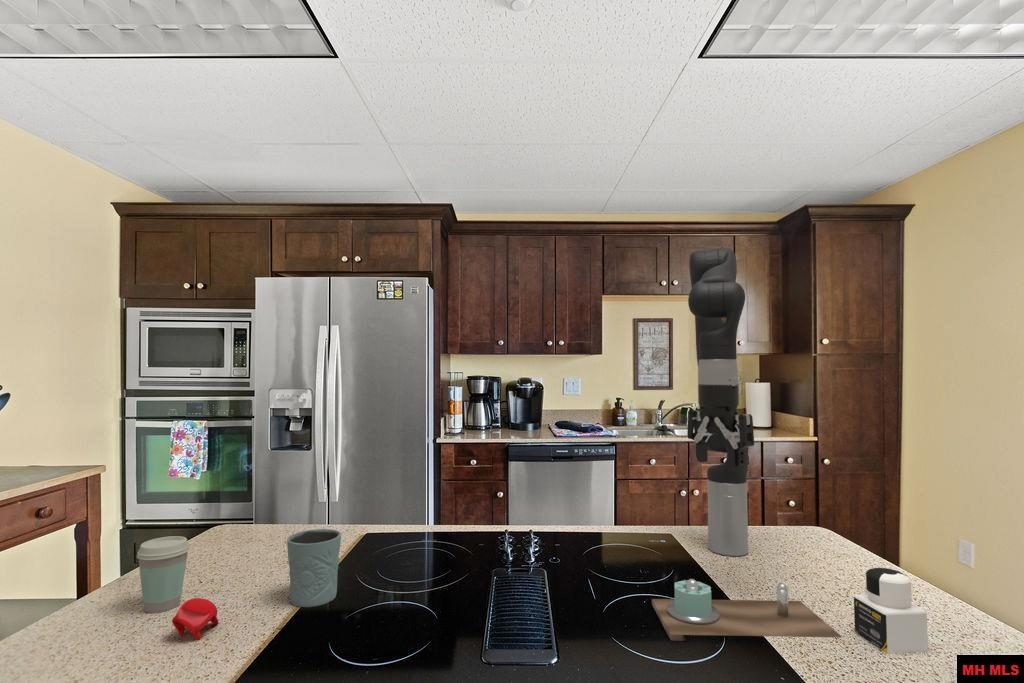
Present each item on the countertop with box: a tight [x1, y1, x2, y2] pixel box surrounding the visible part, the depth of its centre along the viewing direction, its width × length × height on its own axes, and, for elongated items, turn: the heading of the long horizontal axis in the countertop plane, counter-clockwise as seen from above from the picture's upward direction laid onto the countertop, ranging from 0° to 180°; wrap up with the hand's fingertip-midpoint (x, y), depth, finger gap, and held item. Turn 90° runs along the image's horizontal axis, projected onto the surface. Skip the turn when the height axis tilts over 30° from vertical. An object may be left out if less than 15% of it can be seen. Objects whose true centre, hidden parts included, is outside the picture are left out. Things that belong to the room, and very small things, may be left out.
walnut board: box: [651, 598, 843, 642], centre depth 97 cm, size 14×28×1 cm, turn 88°
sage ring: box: [674, 579, 712, 618], centre depth 98 cm, size 6×6×4 cm
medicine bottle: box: [853, 567, 929, 654], centre depth 88 cm, size 7×7×12 cm
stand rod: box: [776, 582, 789, 617], centre depth 98 cm, size 2×2×6 cm
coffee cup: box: [136, 535, 191, 614], centre depth 103 cm, size 8×8×12 cm
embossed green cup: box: [286, 528, 342, 608], centre depth 107 cm, size 10×10×12 cm
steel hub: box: [667, 578, 719, 625], centre depth 98 cm, size 9×9×6 cm
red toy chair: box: [171, 597, 219, 641], centre depth 93 cm, size 8×6×6 cm
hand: (719, 465), depth 107 cm, fingers open, 8 cm apart
